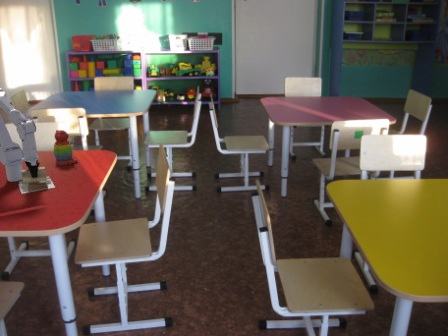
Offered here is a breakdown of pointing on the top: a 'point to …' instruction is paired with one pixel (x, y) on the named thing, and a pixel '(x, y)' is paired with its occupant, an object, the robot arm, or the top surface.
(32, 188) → the offcut bottom
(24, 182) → the birch sheet
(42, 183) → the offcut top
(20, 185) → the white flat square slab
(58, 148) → the stacking bear
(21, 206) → the top surface
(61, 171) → the top surface
